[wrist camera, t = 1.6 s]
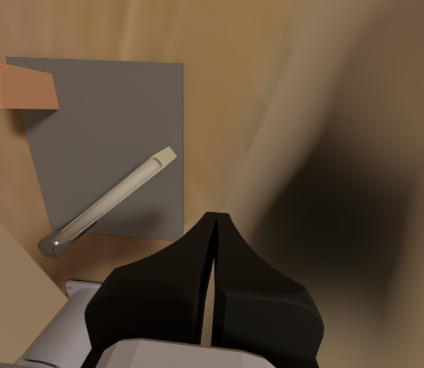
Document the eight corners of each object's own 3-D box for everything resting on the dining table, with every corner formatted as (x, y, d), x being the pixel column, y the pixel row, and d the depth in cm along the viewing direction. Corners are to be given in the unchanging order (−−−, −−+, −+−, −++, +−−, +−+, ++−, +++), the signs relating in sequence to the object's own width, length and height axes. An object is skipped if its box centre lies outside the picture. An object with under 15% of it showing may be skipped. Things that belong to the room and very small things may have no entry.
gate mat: (183, 239, 23) (182, 241, 23) (54, 227, 24) (51, 229, 24) (183, 64, 17) (182, 63, 17) (9, 57, 18) (5, 56, 18)
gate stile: (59, 109, 19) (3, 108, 14) (43, 108, 19) (-18, 107, 14) (51, 73, 18) (-11, 60, 13) (35, 73, 18) (-34, 59, 13)
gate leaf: (97, 218, 22) (62, 246, 18) (89, 210, 22) (52, 237, 17) (177, 156, 19) (160, 170, 14) (169, 146, 19) (149, 157, 14)
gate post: (100, 225, 24) (61, 258, 18) (84, 223, 24) (41, 256, 18) (97, 210, 23) (57, 240, 17) (81, 208, 23) (35, 238, 18)
